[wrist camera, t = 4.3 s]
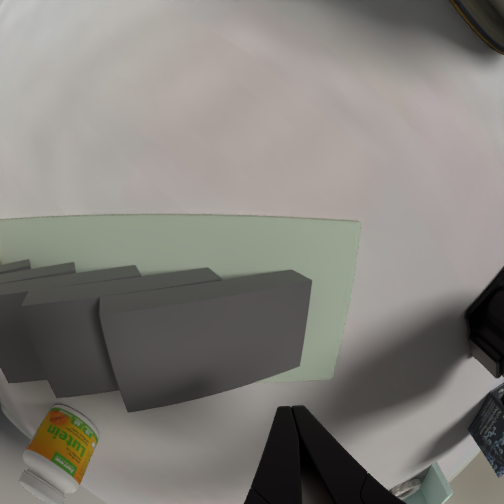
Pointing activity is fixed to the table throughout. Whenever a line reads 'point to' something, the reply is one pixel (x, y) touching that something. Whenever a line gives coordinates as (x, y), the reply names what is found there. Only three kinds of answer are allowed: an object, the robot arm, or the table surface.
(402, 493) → the right angle wall
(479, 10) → the apothecary jar
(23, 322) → the domino
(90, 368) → the domino
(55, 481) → the supplement bottle
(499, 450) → the box
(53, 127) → the table surface
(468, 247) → the table surface
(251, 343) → the domino
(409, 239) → the table surface
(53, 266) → the domino
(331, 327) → the rack
